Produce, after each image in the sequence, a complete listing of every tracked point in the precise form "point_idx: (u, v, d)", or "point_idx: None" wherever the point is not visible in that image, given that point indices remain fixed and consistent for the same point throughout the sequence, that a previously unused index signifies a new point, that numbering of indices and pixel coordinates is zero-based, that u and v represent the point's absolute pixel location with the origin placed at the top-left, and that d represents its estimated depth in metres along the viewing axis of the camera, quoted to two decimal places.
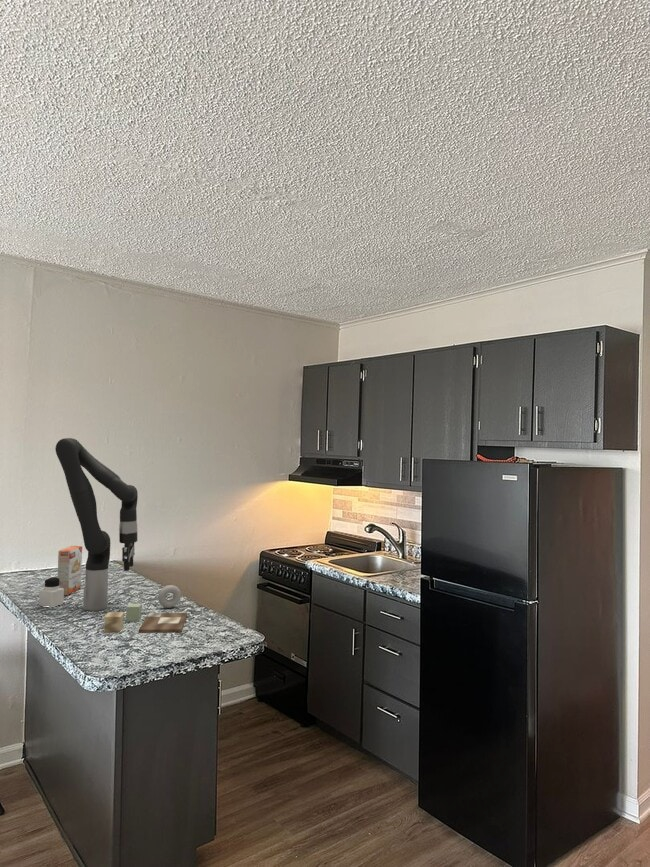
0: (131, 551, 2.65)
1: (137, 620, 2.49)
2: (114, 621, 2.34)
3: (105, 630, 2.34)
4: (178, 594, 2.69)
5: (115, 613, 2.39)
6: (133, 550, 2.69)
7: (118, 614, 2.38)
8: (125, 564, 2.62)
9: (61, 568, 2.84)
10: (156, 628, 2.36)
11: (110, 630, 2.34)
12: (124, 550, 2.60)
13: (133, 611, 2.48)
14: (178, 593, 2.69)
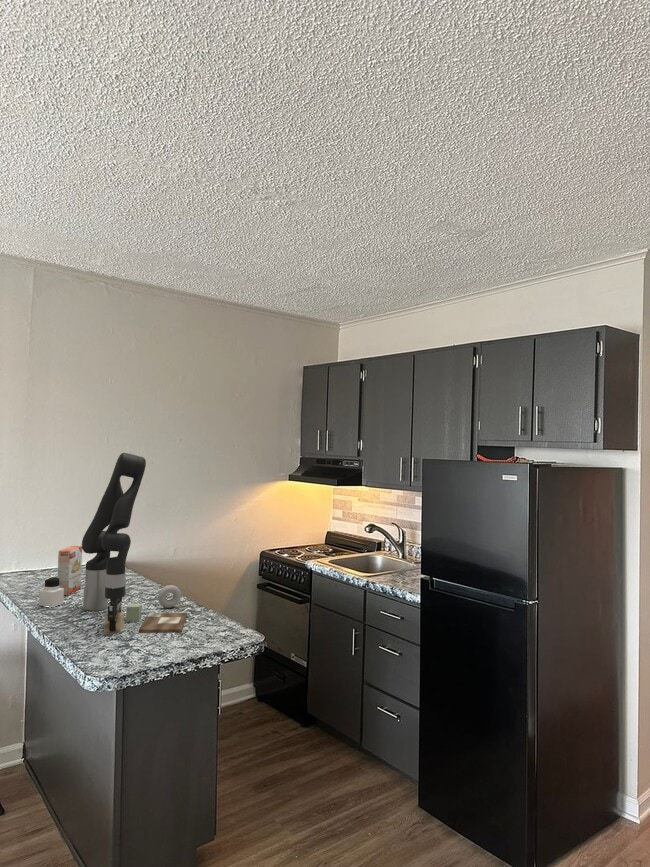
0: (118, 608, 2.35)
1: (137, 620, 2.49)
2: None
3: (105, 630, 2.34)
4: (178, 594, 2.69)
5: None
6: (120, 606, 2.39)
7: (118, 613, 2.38)
8: (111, 624, 2.33)
9: (61, 568, 2.84)
10: (156, 628, 2.36)
11: None
12: (110, 609, 2.31)
13: (133, 611, 2.48)
14: (178, 593, 2.69)
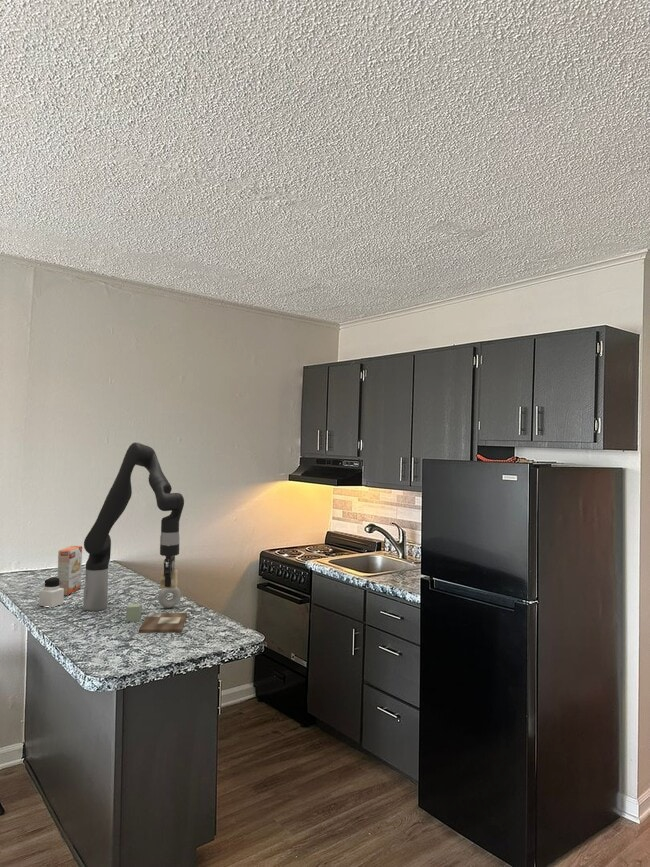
0: (173, 565, 2.44)
1: (137, 620, 2.49)
2: None
3: (161, 586, 2.43)
4: (178, 594, 2.69)
5: None
6: (174, 564, 2.48)
7: (172, 571, 2.47)
8: (166, 580, 2.42)
9: (61, 568, 2.84)
10: (156, 628, 2.36)
11: None
12: (166, 565, 2.40)
13: (133, 611, 2.48)
14: (178, 593, 2.69)
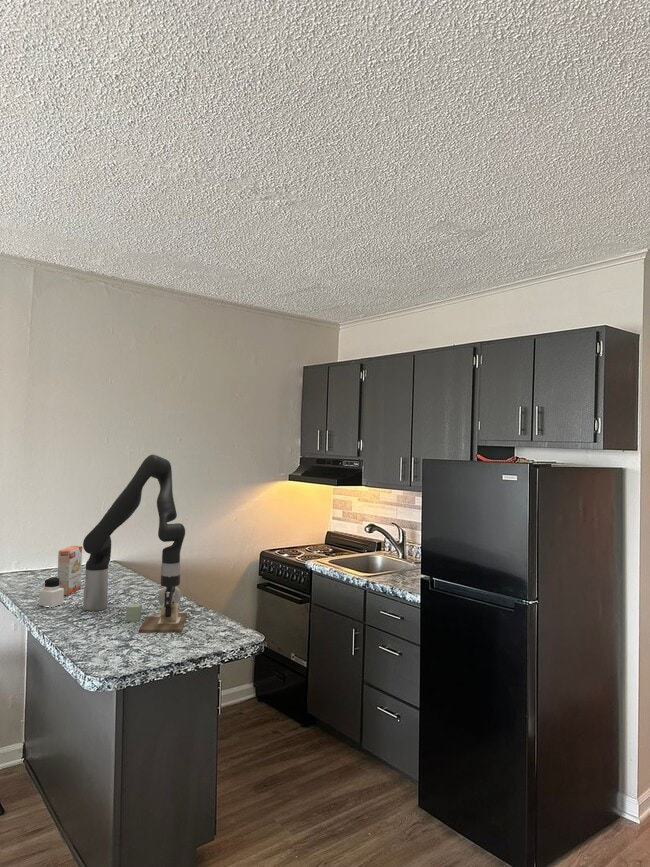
0: (173, 595, 2.44)
1: (137, 620, 2.49)
2: None
3: (161, 620, 2.43)
4: (178, 594, 2.69)
5: None
6: None
7: (173, 604, 2.47)
8: (167, 610, 2.41)
9: (61, 568, 2.84)
10: (156, 628, 2.36)
11: (166, 620, 2.44)
12: (167, 595, 2.40)
13: (133, 611, 2.48)
14: (178, 593, 2.69)
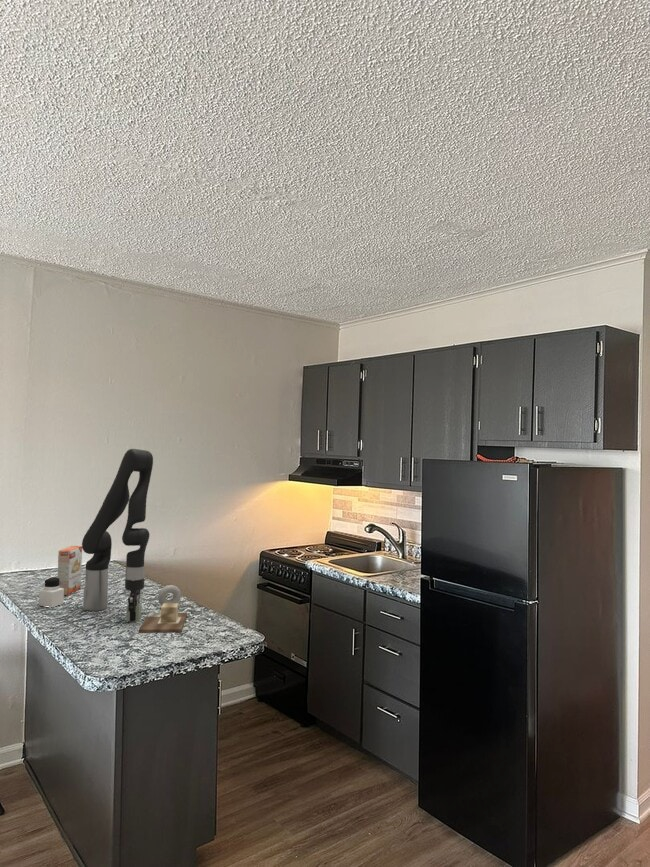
0: (137, 599, 2.49)
1: (137, 620, 2.49)
2: (170, 611, 2.44)
3: (161, 620, 2.43)
4: (178, 594, 2.69)
5: (170, 604, 2.48)
6: (139, 598, 2.53)
7: (173, 604, 2.47)
8: (131, 614, 2.47)
9: (61, 568, 2.84)
10: (156, 628, 2.36)
11: (166, 620, 2.44)
12: (130, 601, 2.44)
13: None
14: (178, 593, 2.69)
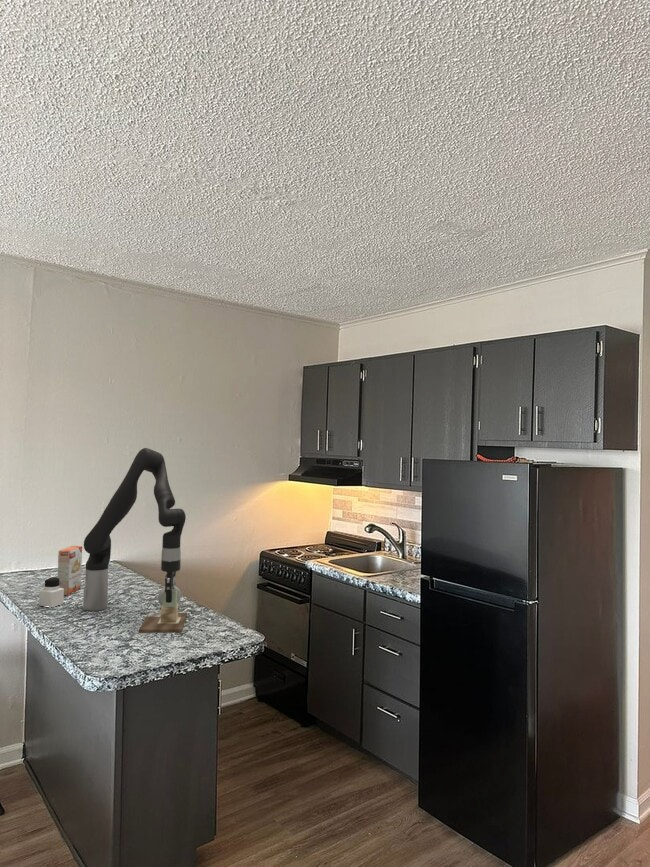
0: (174, 581, 2.45)
1: (174, 605, 2.44)
2: (170, 611, 2.44)
3: (161, 620, 2.43)
4: (178, 594, 2.69)
5: None
6: (175, 579, 2.49)
7: None
8: (167, 595, 2.42)
9: (61, 568, 2.84)
10: (156, 628, 2.36)
11: (166, 620, 2.44)
12: (167, 581, 2.40)
13: None
14: (178, 593, 2.69)
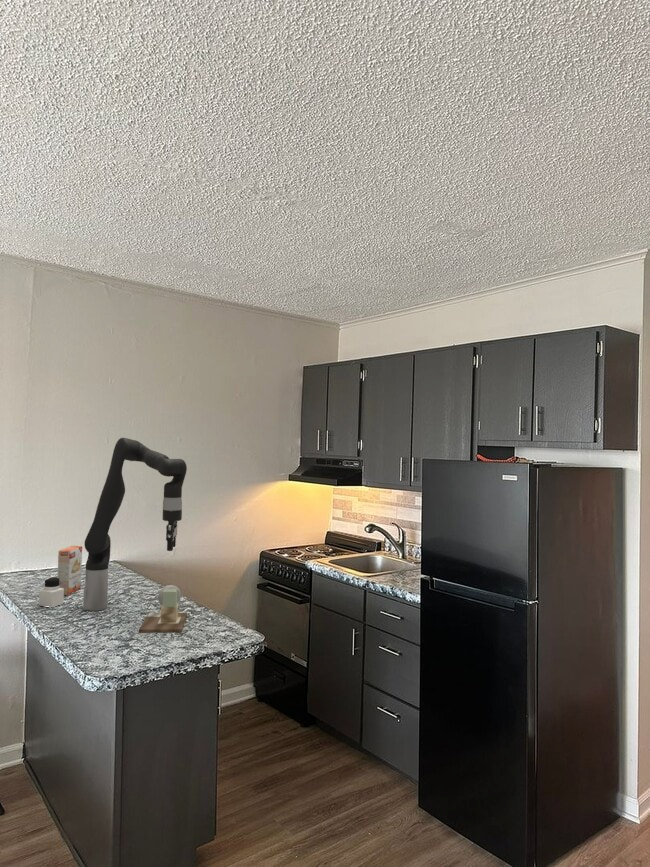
0: (175, 530, 2.45)
1: (174, 605, 2.44)
2: (170, 611, 2.44)
3: (161, 620, 2.43)
4: (178, 594, 2.69)
5: None
6: (176, 529, 2.49)
7: None
8: (169, 543, 2.42)
9: (61, 568, 2.84)
10: (156, 628, 2.36)
11: (166, 620, 2.44)
12: (168, 528, 2.40)
13: (169, 596, 2.44)
14: (178, 593, 2.69)
